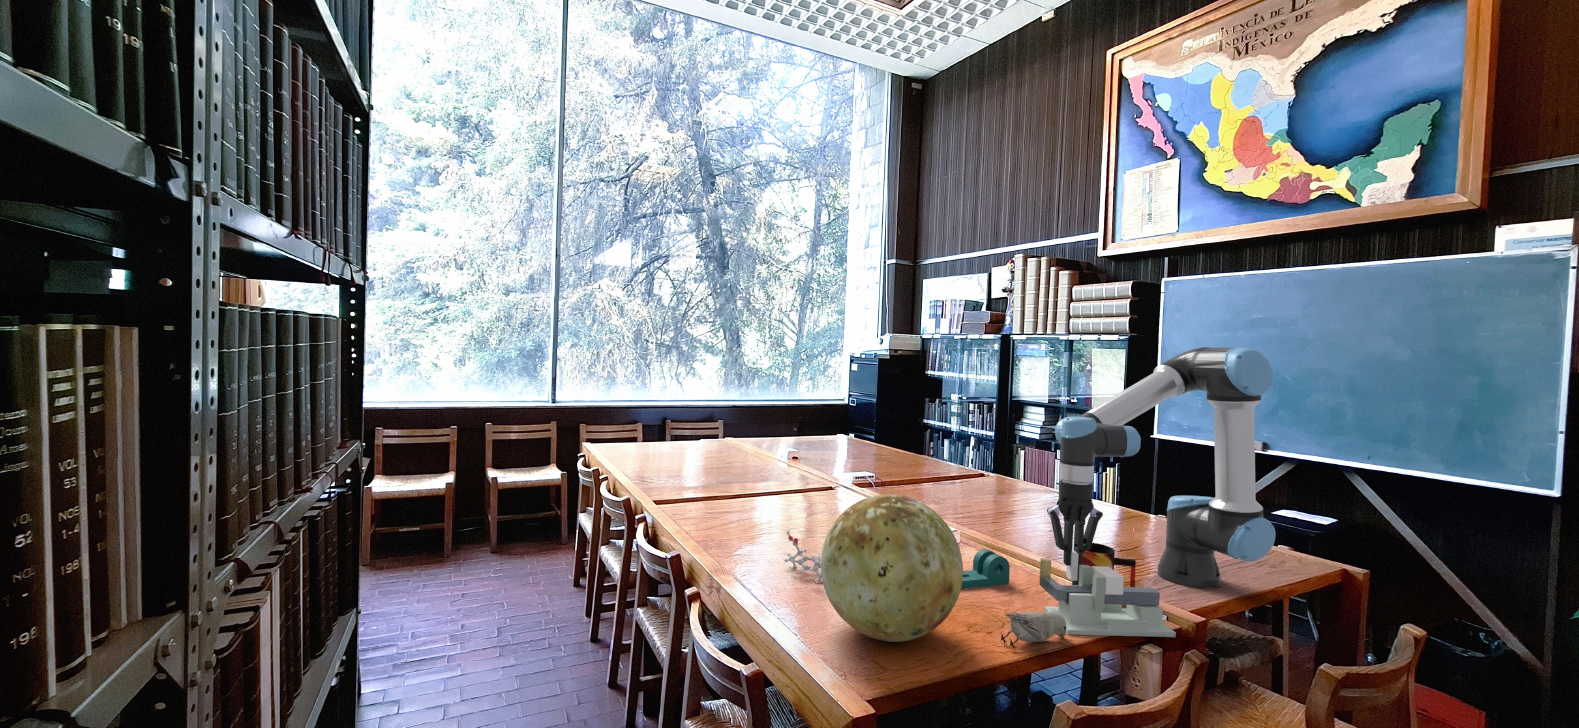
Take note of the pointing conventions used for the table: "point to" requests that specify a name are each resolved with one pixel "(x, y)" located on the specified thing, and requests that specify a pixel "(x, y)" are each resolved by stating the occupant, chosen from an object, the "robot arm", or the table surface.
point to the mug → (1105, 560)
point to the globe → (891, 568)
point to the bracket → (987, 571)
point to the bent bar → (1062, 591)
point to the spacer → (1109, 579)
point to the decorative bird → (1035, 626)
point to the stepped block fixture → (1107, 613)
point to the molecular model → (804, 558)
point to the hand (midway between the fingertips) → (1071, 578)
